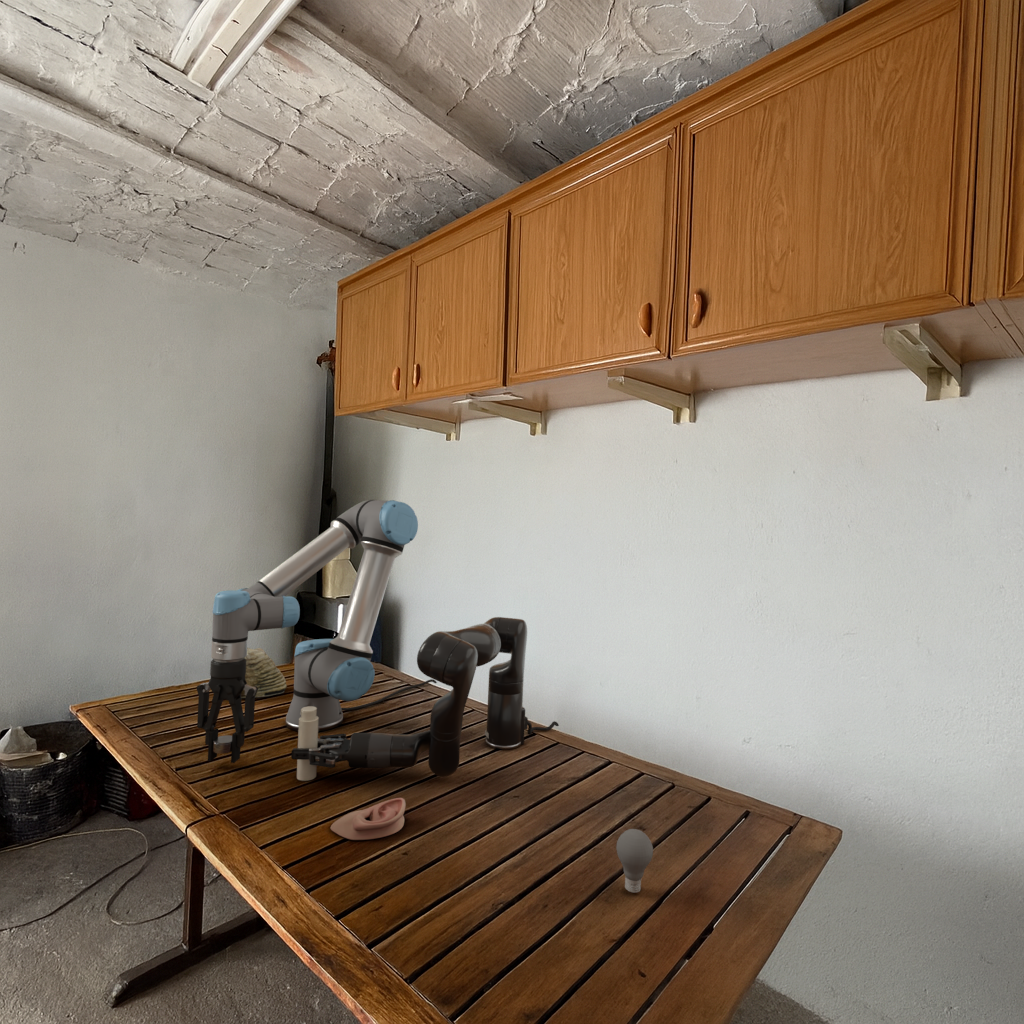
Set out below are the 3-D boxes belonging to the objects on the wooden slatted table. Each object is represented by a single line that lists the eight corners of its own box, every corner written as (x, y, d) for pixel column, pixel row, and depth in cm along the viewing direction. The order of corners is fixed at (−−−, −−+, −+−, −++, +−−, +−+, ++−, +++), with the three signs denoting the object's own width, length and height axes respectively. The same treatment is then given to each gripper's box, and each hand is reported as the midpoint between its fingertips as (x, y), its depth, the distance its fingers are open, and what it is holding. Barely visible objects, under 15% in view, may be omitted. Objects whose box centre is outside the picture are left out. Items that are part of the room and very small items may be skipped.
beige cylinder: (292, 776, 142) (295, 708, 142) (308, 770, 146) (311, 704, 146) (304, 782, 140) (306, 713, 140) (320, 776, 143) (322, 708, 143)
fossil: (218, 695, 195) (220, 647, 195) (278, 685, 208) (279, 640, 207) (228, 703, 189) (230, 653, 188) (289, 692, 201) (290, 645, 201)
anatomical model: (323, 814, 118) (350, 787, 130) (322, 835, 118) (350, 806, 130) (389, 824, 116) (412, 796, 127) (389, 846, 116) (411, 816, 127)
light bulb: (610, 879, 108) (613, 822, 108) (644, 879, 109) (647, 822, 109) (619, 902, 102) (622, 840, 102) (655, 901, 103) (658, 840, 103)
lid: (236, 752, 144) (236, 741, 144) (213, 754, 142) (213, 744, 142) (234, 744, 149) (235, 734, 149) (212, 747, 147) (212, 736, 146)
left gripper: (182, 659, 142) (176, 763, 142) (259, 665, 141) (253, 769, 141) (200, 652, 150) (195, 750, 150) (273, 657, 149) (268, 756, 149)
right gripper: (376, 722, 151) (303, 721, 150) (367, 746, 137) (286, 745, 135) (375, 754, 151) (302, 753, 150) (366, 780, 137) (285, 779, 136)
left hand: (223, 759), depth 146 cm, fingers closed on lid, 5 cm apart
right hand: (295, 749), depth 143 cm, fingers closed on beige cylinder, 4 cm apart
